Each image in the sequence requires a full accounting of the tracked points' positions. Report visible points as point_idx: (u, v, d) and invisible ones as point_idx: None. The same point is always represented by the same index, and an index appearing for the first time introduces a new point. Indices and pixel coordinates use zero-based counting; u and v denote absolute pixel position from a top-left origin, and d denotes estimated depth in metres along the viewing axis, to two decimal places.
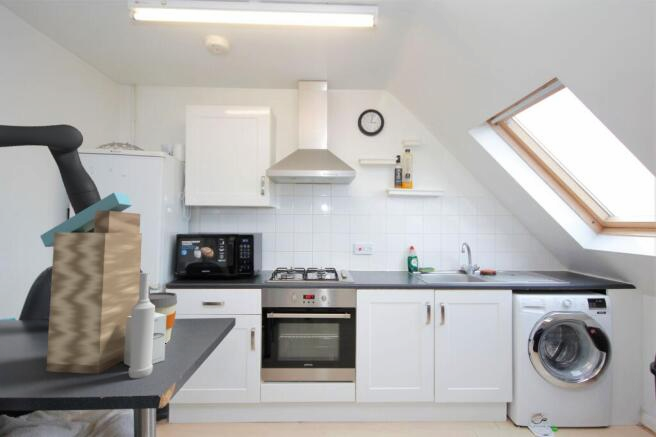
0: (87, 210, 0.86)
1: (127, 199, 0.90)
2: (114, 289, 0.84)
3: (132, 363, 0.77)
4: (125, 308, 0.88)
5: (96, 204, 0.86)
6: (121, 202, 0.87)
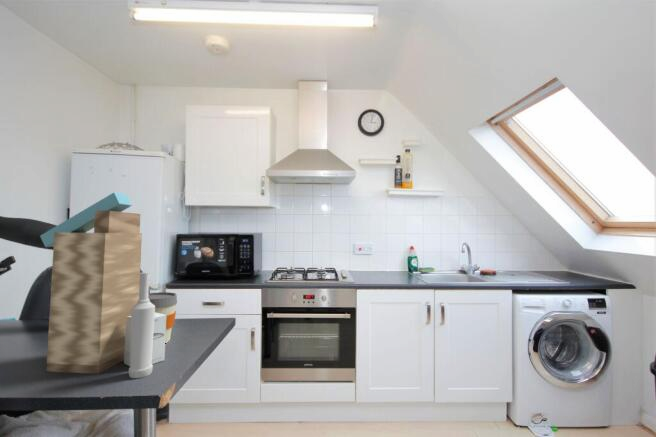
0: (87, 210, 0.86)
1: (127, 199, 0.90)
2: (114, 289, 0.84)
3: (132, 363, 0.77)
4: (125, 308, 0.88)
5: (96, 204, 0.86)
6: (121, 202, 0.87)
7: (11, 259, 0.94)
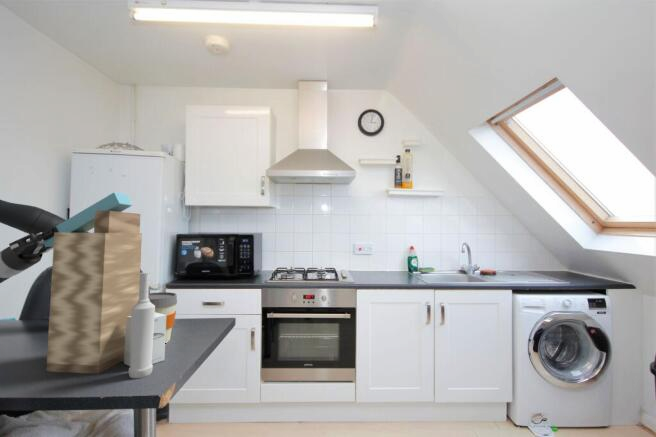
0: (87, 210, 0.86)
1: (127, 199, 0.90)
2: (114, 289, 0.84)
3: (132, 363, 0.77)
4: (125, 308, 0.88)
5: (96, 204, 0.86)
6: (121, 202, 0.87)
7: None
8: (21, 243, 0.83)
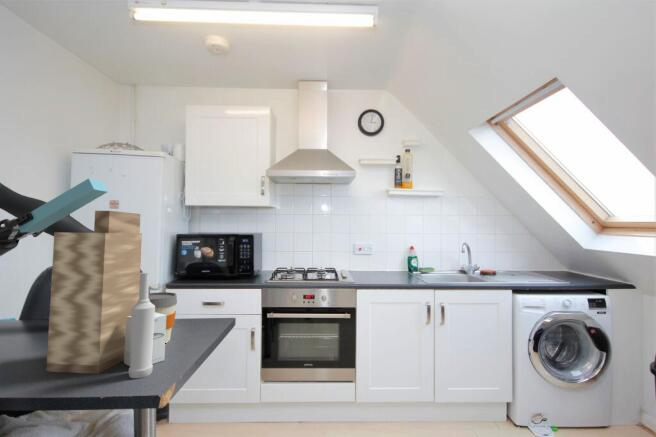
0: (62, 196, 0.87)
1: (103, 185, 0.91)
2: (114, 289, 0.84)
3: (132, 363, 0.77)
4: (125, 308, 0.88)
5: (71, 190, 0.87)
6: (96, 188, 0.88)
7: None
8: None
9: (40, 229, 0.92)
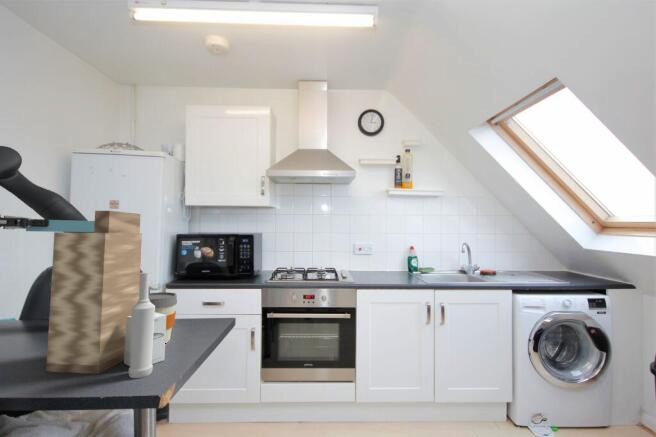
0: (90, 222, 1.01)
1: None
2: (114, 289, 0.84)
3: (132, 363, 0.77)
4: (125, 308, 0.88)
5: None
6: None
7: None
8: (11, 222, 0.89)
9: None
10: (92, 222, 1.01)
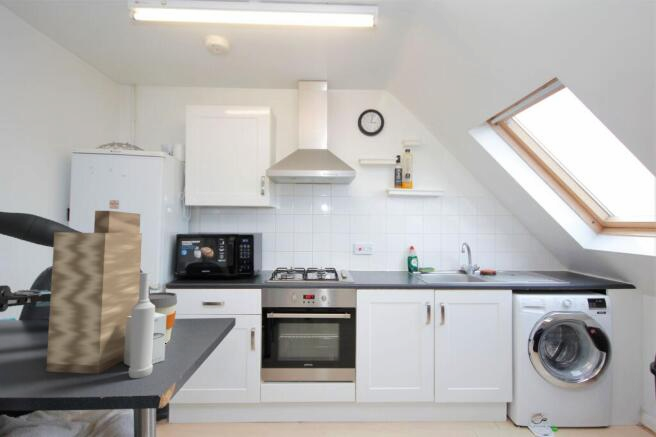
0: None
1: None
2: (114, 289, 0.84)
3: (132, 363, 0.77)
4: (125, 308, 0.88)
5: None
6: None
7: None
8: (21, 301, 0.89)
9: None
10: None
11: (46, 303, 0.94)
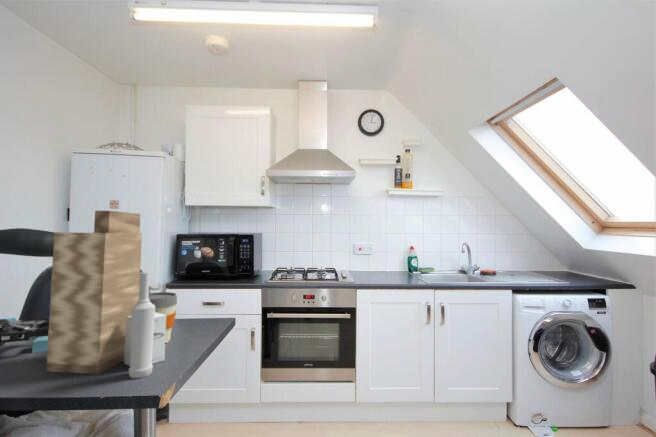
0: None
1: None
2: (114, 289, 0.84)
3: (132, 363, 0.77)
4: (125, 308, 0.88)
5: None
6: None
7: None
8: (14, 337, 0.88)
9: None
10: None
11: (42, 350, 0.94)
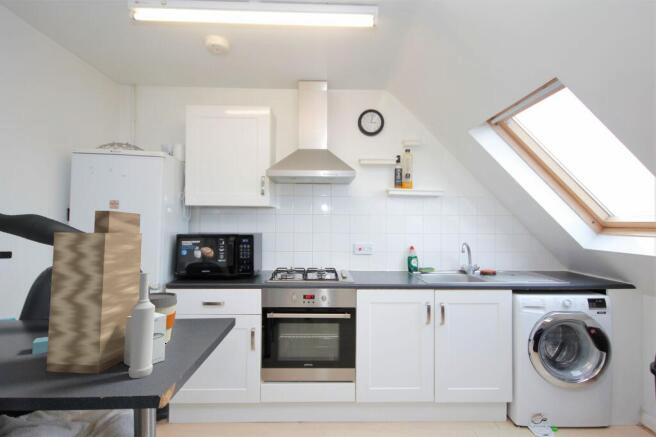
0: None
1: None
2: (114, 289, 0.84)
3: (131, 363, 0.77)
4: (125, 308, 0.88)
5: None
6: None
7: (9, 255, 0.97)
8: None
9: None
10: None
11: (43, 351, 0.93)
